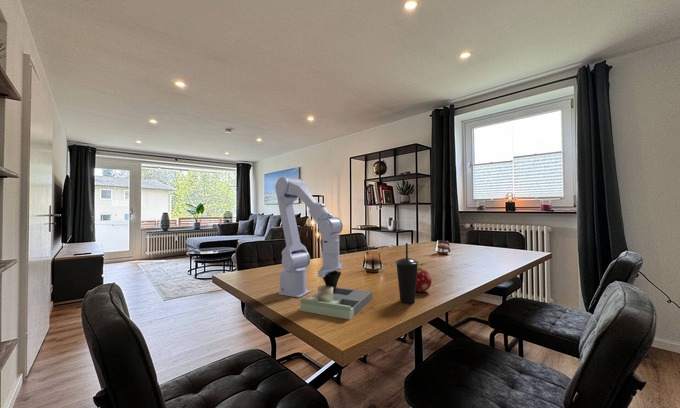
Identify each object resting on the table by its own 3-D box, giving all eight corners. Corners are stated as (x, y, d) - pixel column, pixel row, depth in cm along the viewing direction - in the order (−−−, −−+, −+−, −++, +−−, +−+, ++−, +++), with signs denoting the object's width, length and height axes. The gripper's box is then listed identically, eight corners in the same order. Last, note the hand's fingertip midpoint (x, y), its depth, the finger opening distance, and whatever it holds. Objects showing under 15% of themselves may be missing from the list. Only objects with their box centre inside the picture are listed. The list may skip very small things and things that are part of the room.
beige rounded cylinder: (315, 301, 90) (314, 288, 90) (322, 296, 94) (322, 284, 94) (328, 303, 87) (328, 290, 87) (336, 298, 92) (335, 286, 92)
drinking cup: (398, 296, 101) (397, 241, 101) (420, 299, 98) (419, 242, 98) (394, 303, 94) (393, 244, 94) (417, 306, 91) (416, 245, 91)
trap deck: (300, 310, 88) (300, 299, 88) (329, 292, 106) (329, 283, 106) (349, 319, 81) (349, 307, 81) (372, 298, 99) (372, 288, 99)
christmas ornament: (406, 288, 111) (405, 263, 111) (427, 288, 111) (427, 263, 111) (411, 295, 102) (410, 267, 102) (434, 295, 102) (434, 267, 102)
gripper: (331, 257, 86) (332, 302, 86) (350, 250, 99) (350, 289, 99) (312, 256, 89) (312, 299, 89) (332, 249, 102) (332, 286, 102)
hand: (331, 293), depth 94 cm, fingers closed
